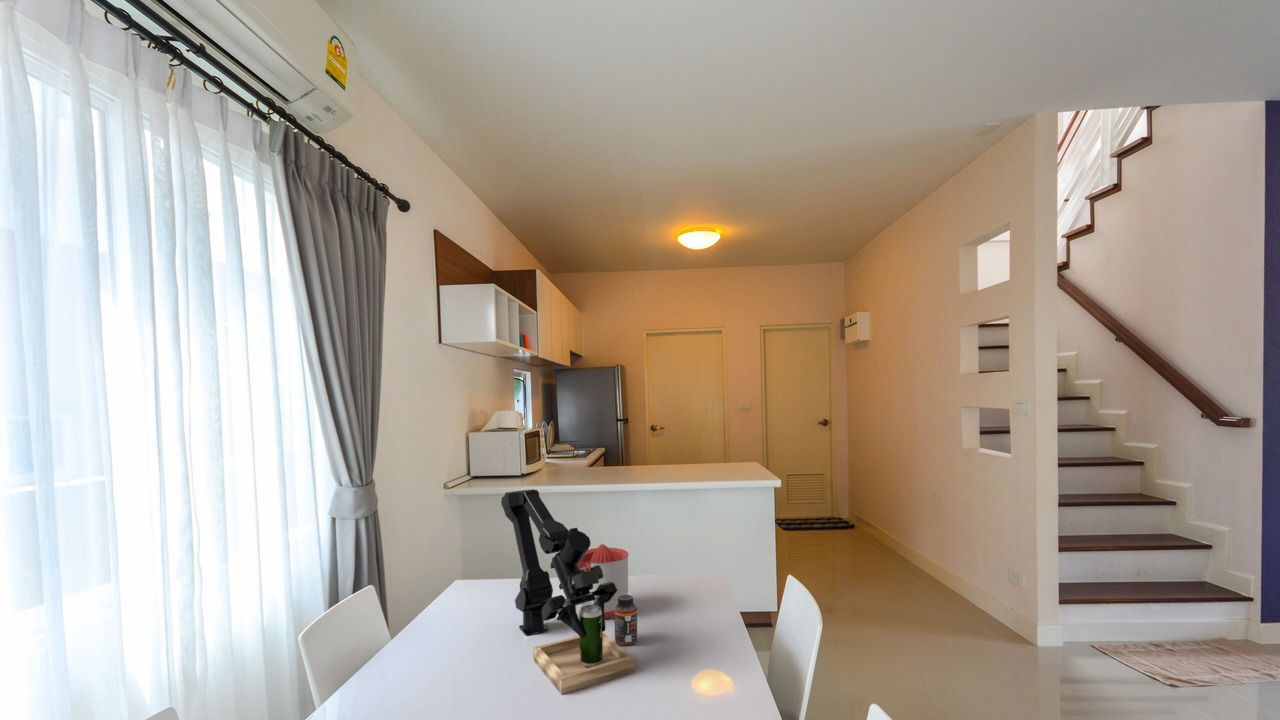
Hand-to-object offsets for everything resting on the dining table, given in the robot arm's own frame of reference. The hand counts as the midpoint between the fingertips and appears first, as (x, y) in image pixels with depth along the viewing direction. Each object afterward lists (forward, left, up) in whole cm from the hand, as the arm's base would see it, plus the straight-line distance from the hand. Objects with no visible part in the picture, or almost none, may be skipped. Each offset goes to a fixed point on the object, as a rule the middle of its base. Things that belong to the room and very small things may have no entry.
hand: (594, 634), depth 126 cm
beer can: (-1, 0, -7) cm, 7 cm away
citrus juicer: (-31, +17, -9) cm, 37 cm away
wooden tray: (-4, -1, -9) cm, 10 cm away
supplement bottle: (-10, +14, -9) cm, 19 cm away
